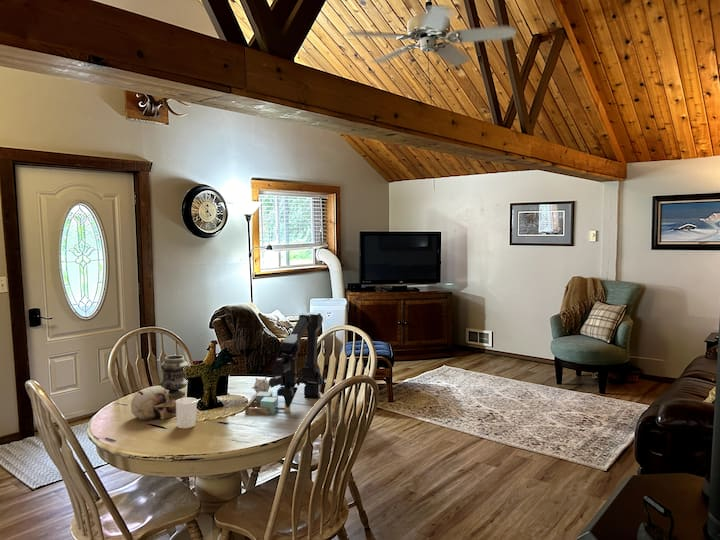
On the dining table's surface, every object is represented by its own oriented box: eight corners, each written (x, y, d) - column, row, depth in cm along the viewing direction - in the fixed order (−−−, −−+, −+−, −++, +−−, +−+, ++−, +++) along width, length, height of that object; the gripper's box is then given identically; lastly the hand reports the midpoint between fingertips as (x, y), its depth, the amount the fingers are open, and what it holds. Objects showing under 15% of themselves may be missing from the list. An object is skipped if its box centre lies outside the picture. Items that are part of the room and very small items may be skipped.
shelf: (277, 401, 233) (277, 393, 233) (268, 414, 215) (268, 406, 215) (256, 400, 234) (256, 393, 233) (245, 413, 216) (245, 405, 215)
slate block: (272, 402, 231) (272, 392, 231) (269, 407, 225) (269, 396, 225) (259, 402, 232) (259, 391, 231) (255, 406, 226) (255, 395, 225)
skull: (185, 410, 217) (183, 380, 215) (159, 429, 201) (156, 396, 199) (154, 408, 221) (151, 378, 219) (126, 425, 205) (122, 394, 203)
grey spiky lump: (264, 403, 241) (269, 390, 236) (247, 396, 241) (251, 383, 236) (271, 389, 249) (275, 376, 243) (255, 382, 249) (259, 369, 243)
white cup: (177, 430, 196) (177, 404, 195) (174, 423, 202) (174, 398, 202) (198, 427, 199) (198, 402, 199) (194, 420, 206) (194, 396, 206)
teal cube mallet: (292, 409, 222) (292, 391, 222) (288, 414, 216) (288, 395, 216) (264, 408, 224) (264, 390, 223) (260, 412, 218) (260, 394, 217)
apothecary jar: (182, 399, 233) (182, 360, 232) (156, 398, 233) (156, 359, 232) (191, 391, 245) (191, 354, 244) (166, 390, 245) (166, 353, 244)
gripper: (275, 364, 228) (275, 398, 229) (265, 375, 209) (264, 412, 210) (300, 365, 227) (299, 399, 228) (291, 376, 209) (291, 414, 210)
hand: (288, 406), depth 219 cm, fingers closed on teal cube mallet, 2 cm apart
